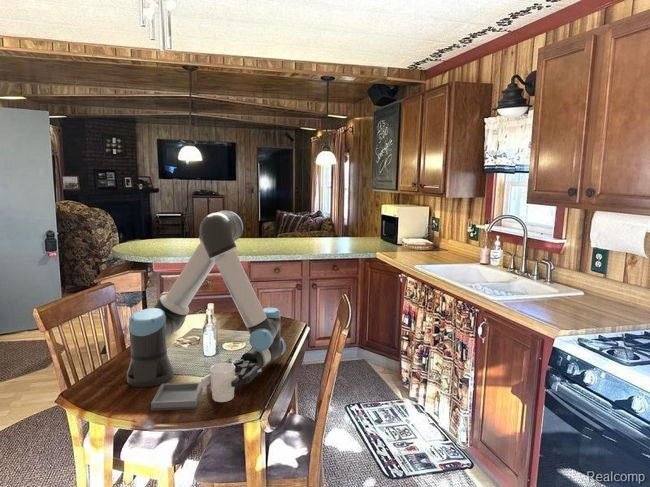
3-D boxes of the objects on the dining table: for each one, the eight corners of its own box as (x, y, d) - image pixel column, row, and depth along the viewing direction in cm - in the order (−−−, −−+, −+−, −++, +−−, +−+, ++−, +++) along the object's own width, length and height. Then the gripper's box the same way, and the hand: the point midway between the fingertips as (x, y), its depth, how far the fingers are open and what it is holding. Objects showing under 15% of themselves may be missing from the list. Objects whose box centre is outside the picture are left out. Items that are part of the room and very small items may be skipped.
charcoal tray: (162, 390, 148) (161, 383, 148) (202, 389, 150) (202, 381, 149) (151, 410, 135) (150, 403, 135) (195, 408, 137) (195, 401, 136)
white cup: (225, 389, 149) (224, 360, 148) (241, 396, 144) (240, 366, 143) (205, 398, 143) (204, 368, 142) (221, 406, 138) (220, 375, 137)
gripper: (280, 375, 155) (240, 404, 135) (232, 364, 164) (187, 390, 144) (280, 354, 154) (239, 380, 134) (231, 344, 163) (186, 367, 143)
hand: (212, 385), depth 139 cm, fingers closed on white cup, 7 cm apart
